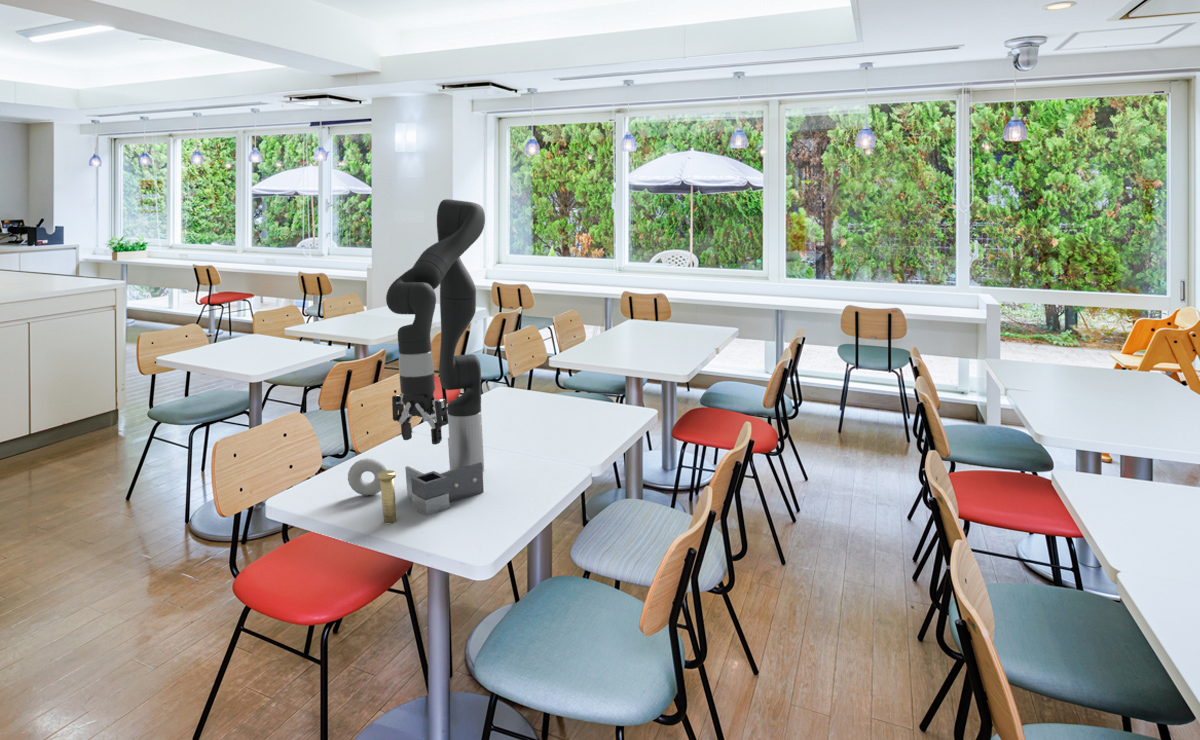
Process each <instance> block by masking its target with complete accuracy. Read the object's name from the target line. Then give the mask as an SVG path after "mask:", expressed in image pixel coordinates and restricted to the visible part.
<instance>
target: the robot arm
mask: <svg viewBox="0 0 1200 740" xmlns="http://www.w3.org/2000/svg"><path fill="white" fill-rule="evenodd" d="M485 215H486V214H485V210H484V208H483V206H482V205H480V204H479V203H476V202H471V201H468V200H467V201H466V200H458V199H447V198H446V199H443V200H441V201H440V203H439V204H438V207H437V213H436V230H437V231H436V232H437V242H435V243H434V244H432V245H430V246H429V247H427V248H426V249H425V250H424V251H423V252H422V253H421V254H420V256H419V257H418V258H417V260H416V261H415V263H414V265H413V266H412V267H411V268H409V269H408V270H407V271H405V272H404V273H402V274H401V275H400V276H398V278H396V279H395V280H393V282H392V283H391V285H390V286H389V288H388V289H387V292H386V296H385V297H386V298H385V302H386V305H387V308H388V309H389V310H390V311H391V312H392V313H394V314H397V315H414V318H413V322H412V323H410V324H406V325H402V326H400V327H399V329H398V330H397V344H398V371H399V373H398V374H399V383H400V384H399V386H400V387H399V388H400V393H399V394H395V395H392V397H391V400H392V401H391V403H392V404H391V405H392V406H391V407H392V409H391V410H392V420H393V421H394V422H398V423H399V424H400V430H401V437H402V439H403V440H404V441H408V440H411V439H412V438H413V437H412V435H413V433H412V422H410V421H411V420H412V418H413V417H418V418H423V420H424V421H425V422H427V423H428V424H429V426H430V427H431V429H430V432H431V433H430V435H431V444H432V445H438V444H440V443H441V441H443V438H442V436H443V435H442V427H443V426H446V425H448V438H447V442H448V457H449V458H448V459H449V460H448V461H449V462H448V463H449V471H451V470H455V469H458V468H462V467H465V466H469V465H472V464H476V463H479V462H481V463H482V468H483V472H484V471H485V461H484V460H485V458H484V439H483V438H484V437H483V421H482V419H483V417H482V370H481V369H482V368H481V361H480V359H479V358H478V356H477V355H476V354H461V355H455V353H456V348H457V347H458V346H457V345H458V342H459V341H460V339H461V337H462V336H463V334H464V333H465V331H466V330H467V328H468V327H469V326H470V323H471V322H472V320H473V318H474V316H475V314H476V309H477V288H476V285H475V282H474V280H473V278H472V276H471V275H470V273H469V271H468V270H467V267H466V266H465V264H464V263H463V260H462V259H461V256H462V255H463V254H464V253H465V252H466V251H468V249H469V248H470V247H471V246H473V244H474V243H475V242H477V240H478V239H479V237H481V235H482V233H483V231H484V229H485V225H486V224H485V223H486V216H485ZM438 287H439V309H440V311H439V313H440V351H439V369H438V371H439V382H440V385H441V387H442V389H444V390H446V391H454V390H464V389H465V391H464V392H463V393H462V394H461V395H460V396H458V397H456V398H454V399H452V400H450V401H449V402H448V403H447V400H446V399H445V398H439V399H435V397H434V392H435V391H436V382H435V381H436V380H435V370H434V369H435V368H434V367H435V366H434V360H433V359H434V358H433V354H432V342H431V341H432V340H431V331H432V330H431V329H432V325H433V319H434V314H435V310H436V304H437V295H436V292H435V289H437V288H438Z"/></svg>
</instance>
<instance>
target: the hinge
mask: <svg viewBox="0 0 1200 740" xmlns="http://www.w3.org/2000/svg"><path fill="white" fill-rule="evenodd" d="M404 469H405V481H406V482H405V483H406V494H407V497H408V498H409V499H412V509H414V510H416V511H417V512H420V513H421V514H423V515H425V516H429V515H432V514H437V513H438V512H441V511H444V510H448V509H450V504H451V503H455V502H456V501H457V502H458V501H459V500H463V499H466V498H469V497H472V496H476V495H478V494H481V493H482V494H483V493H484V492H485V491H484V471H483V468H482V463H481V462H479V463H476V464H472V465H469V466H465V467H462V468H458V469H455V470H449V471H448V470H447V471H445V472H441V473H440V472H437V471H435V470H432V471H429V472H425V473H423V472H422V471H419V470H417V469H415V468H413V467H411V466H408V465H407V466H405V467H404Z"/></svg>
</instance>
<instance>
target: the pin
mask: <svg viewBox="0 0 1200 740" xmlns="http://www.w3.org/2000/svg"><path fill="white" fill-rule="evenodd" d="M377 475H378V479H379V480H380V484H381V491H380V493H381V494H380V496H381V506H382V518H383V523H384V524H385V523H392V524H394V522H395V523H397V521H398V518H397V507H396V505H397V504H396V494H395V481H394V480H395V478H397V477H396V471H395V470H391V469H389V470H386V471H381V472H379V473H378V474H377Z"/></svg>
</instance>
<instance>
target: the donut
mask: <svg viewBox="0 0 1200 740" xmlns="http://www.w3.org/2000/svg"><path fill="white" fill-rule="evenodd" d="M386 470H387V468H386V467H385V464H383V463H382V462H381V461H379V460H377V459H375V458H369V457H367V458H362V459H359V460H357V461H355V462H354V463H353V464H352V466H350V468H349V470H348V472H347V481H348V485H349V486H350V488H351V489H352V491H354V492H355V493H357V494H359V495H362V496H368V495H370V496H374V495H377V494H379V493H381V484H380V480H379V479H378V475H377V474H378V473H379V472H381V471H386ZM365 472H366V473H367V472H370V473H372V475H373V476H374V478H373V480H372V481H370V482H366V481H364V480H363V478H362V475H363V474H364V473H365Z"/></svg>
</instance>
